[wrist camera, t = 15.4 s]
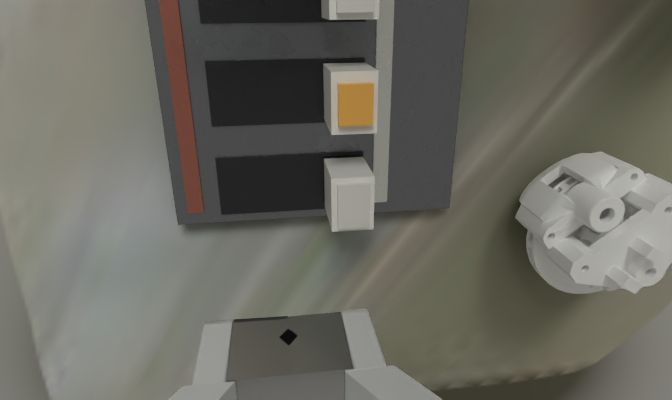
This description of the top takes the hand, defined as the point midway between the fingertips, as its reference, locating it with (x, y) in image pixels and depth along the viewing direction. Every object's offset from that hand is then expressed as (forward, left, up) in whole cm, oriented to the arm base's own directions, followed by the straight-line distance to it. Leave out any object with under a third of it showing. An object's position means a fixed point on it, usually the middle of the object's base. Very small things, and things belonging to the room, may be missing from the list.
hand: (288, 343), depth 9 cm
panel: (0, +3, -29) cm, 29 cm away
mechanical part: (+11, +25, -29) cm, 40 cm away
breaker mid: (0, +5, -27) cm, 28 cm away
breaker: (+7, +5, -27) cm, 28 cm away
